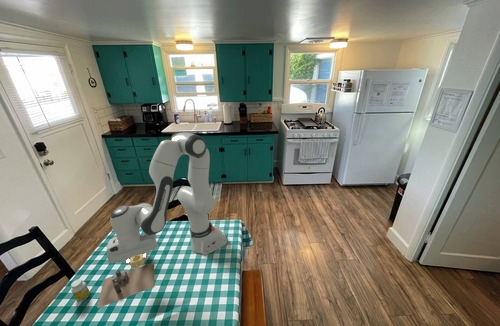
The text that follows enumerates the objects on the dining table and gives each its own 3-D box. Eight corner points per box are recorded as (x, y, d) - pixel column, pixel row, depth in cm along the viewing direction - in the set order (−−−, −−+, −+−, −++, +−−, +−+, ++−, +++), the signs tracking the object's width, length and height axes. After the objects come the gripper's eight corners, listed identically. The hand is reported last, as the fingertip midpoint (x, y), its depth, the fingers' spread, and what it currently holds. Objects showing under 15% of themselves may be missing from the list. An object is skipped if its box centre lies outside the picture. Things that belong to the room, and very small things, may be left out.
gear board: (154, 264, 115) (152, 255, 112) (155, 288, 101) (152, 279, 99) (104, 281, 106) (100, 272, 103) (98, 310, 92) (93, 301, 90)
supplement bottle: (92, 292, 100) (86, 278, 97) (82, 303, 95) (75, 289, 92) (84, 290, 101) (77, 276, 98) (73, 300, 97) (66, 286, 93)
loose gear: (145, 255, 102) (144, 250, 101) (145, 265, 96) (143, 260, 95) (131, 260, 99) (129, 255, 98) (130, 270, 94) (128, 266, 93)
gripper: (154, 227, 98) (160, 248, 104) (105, 241, 91) (114, 263, 96) (154, 236, 93) (160, 257, 99) (102, 251, 86) (112, 274, 91)
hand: (137, 260), depth 97 cm, fingers closed on loose gear, 6 cm apart
